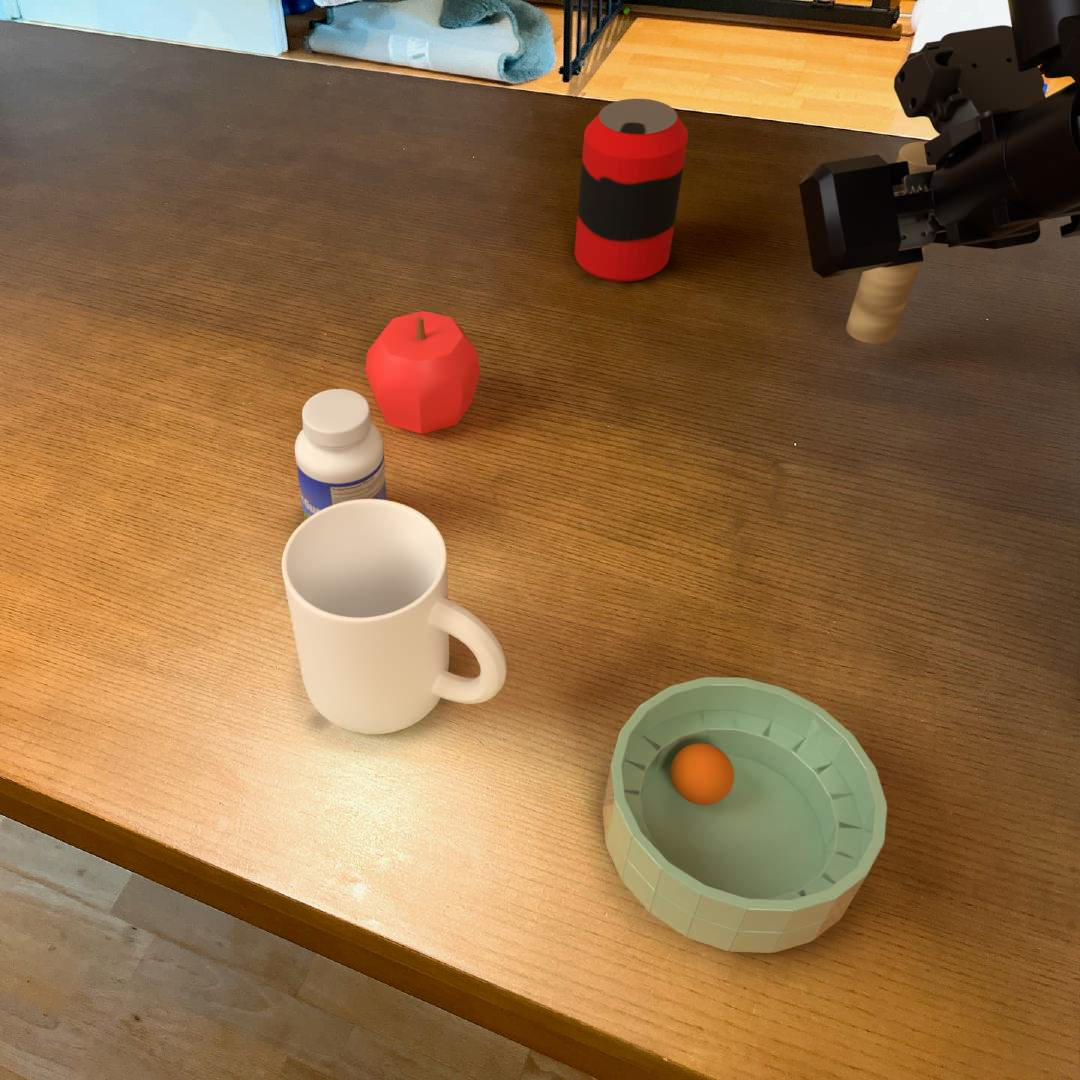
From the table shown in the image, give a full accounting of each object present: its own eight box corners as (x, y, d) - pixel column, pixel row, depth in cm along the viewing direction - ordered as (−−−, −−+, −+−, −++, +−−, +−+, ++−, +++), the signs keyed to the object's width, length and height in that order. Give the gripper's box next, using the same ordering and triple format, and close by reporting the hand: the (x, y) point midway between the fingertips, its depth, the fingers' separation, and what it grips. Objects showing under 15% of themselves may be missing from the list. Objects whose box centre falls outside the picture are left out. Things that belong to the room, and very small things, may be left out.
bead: (732, 773, 55) (743, 741, 52) (723, 824, 53) (734, 792, 50) (673, 756, 55) (681, 724, 53) (661, 805, 54) (669, 774, 51)
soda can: (567, 278, 86) (577, 136, 78) (582, 229, 91) (594, 90, 82) (663, 288, 84) (685, 144, 76) (673, 237, 89) (695, 96, 80)
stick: (896, 321, 75) (957, 144, 65) (893, 347, 73) (956, 169, 63) (847, 313, 76) (901, 138, 66) (843, 340, 74) (898, 163, 64)
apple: (345, 412, 77) (335, 319, 71) (427, 363, 80) (424, 270, 74) (420, 466, 73) (415, 372, 67) (503, 412, 76) (506, 318, 70)
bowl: (866, 770, 55) (895, 715, 51) (844, 995, 47) (876, 950, 44) (630, 706, 58) (641, 651, 55) (576, 906, 51) (585, 857, 47)
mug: (534, 679, 60) (544, 555, 52) (466, 794, 55) (466, 677, 48) (352, 602, 65) (337, 479, 57) (276, 702, 60) (248, 582, 53)
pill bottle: (295, 510, 71) (275, 395, 63) (371, 486, 72) (360, 370, 64) (322, 566, 67) (304, 451, 60) (402, 540, 68) (394, 423, 61)
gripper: (1202, -28, 55) (1001, 93, 71) (858, 24, 54) (731, 135, 70) (1235, 186, 56) (1027, 259, 71) (894, 243, 54) (759, 305, 70)
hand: (887, 235), depth 70 cm, fingers closed on stick, 3 cm apart
